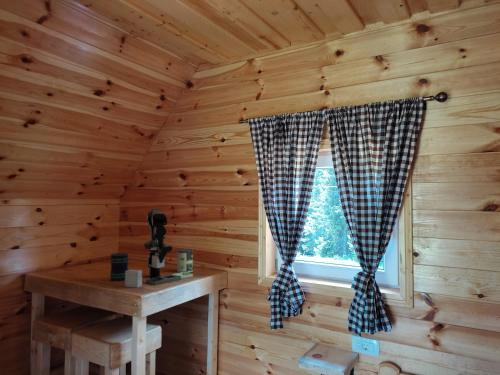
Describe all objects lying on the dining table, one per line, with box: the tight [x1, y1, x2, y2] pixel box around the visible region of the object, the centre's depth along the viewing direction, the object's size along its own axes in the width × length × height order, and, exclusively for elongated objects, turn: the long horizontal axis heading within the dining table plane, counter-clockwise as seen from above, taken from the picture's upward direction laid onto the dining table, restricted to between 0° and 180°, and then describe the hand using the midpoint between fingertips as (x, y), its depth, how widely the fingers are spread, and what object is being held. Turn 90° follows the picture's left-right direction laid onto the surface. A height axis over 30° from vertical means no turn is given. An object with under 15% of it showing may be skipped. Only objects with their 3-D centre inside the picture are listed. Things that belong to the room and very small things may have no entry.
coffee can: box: [176, 248, 194, 273], centre depth 242 cm, size 10×10×14 cm
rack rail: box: [145, 273, 182, 286], centre depth 212 cm, size 9×18×2 cm, turn 139°
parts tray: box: [171, 272, 194, 280], centre depth 225 cm, size 9×9×2 cm
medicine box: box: [124, 269, 143, 288], centre depth 200 cm, size 8×4×9 cm, turn 75°
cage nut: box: [152, 252, 165, 269], centre depth 209 cm, size 5×5×8 cm
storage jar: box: [110, 252, 129, 282], centre depth 216 cm, size 10×10×15 cm
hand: (158, 262), depth 209 cm, fingers closed on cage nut, 5 cm apart
